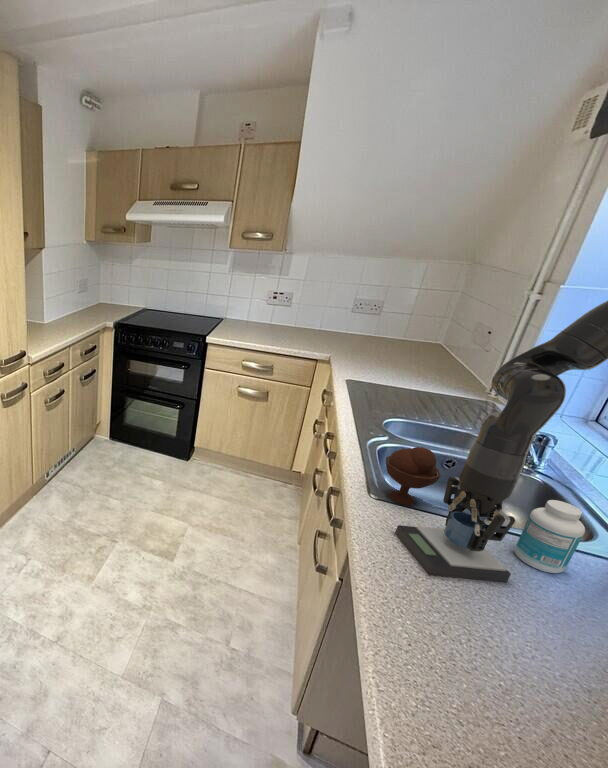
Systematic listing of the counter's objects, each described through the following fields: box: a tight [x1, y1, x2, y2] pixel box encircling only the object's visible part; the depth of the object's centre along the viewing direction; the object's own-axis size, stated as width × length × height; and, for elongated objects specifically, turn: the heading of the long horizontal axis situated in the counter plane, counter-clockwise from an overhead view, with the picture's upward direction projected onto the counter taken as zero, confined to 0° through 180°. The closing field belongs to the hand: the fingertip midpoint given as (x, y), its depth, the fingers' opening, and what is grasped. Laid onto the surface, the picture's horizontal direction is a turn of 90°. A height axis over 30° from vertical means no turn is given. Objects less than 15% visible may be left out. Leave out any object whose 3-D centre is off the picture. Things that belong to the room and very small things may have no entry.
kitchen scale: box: [394, 525, 512, 583], centre depth 85 cm, size 14×12×3 cm
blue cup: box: [444, 511, 485, 549], centre depth 83 cm, size 6×6×5 cm
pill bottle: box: [514, 499, 586, 574], centre depth 82 cm, size 8×7×14 cm
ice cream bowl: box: [385, 446, 441, 506], centre depth 101 cm, size 11×11×15 cm
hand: (462, 538), depth 84 cm, fingers closed on blue cup, 6 cm apart
